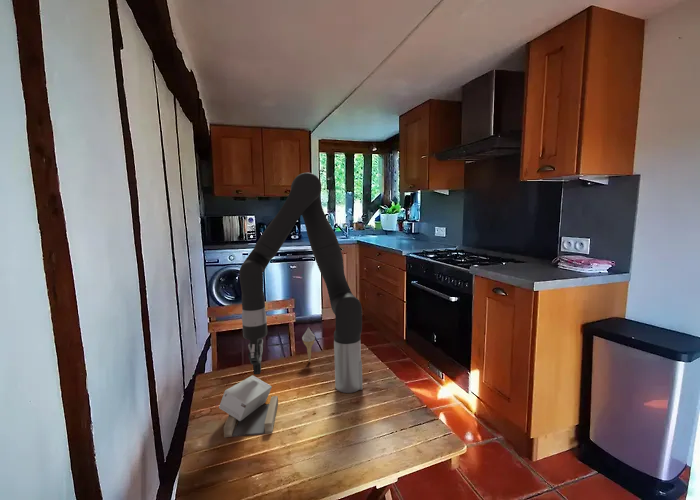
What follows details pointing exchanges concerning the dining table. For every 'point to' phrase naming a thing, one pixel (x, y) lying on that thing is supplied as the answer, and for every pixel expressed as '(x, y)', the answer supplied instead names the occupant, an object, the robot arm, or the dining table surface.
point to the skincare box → (245, 397)
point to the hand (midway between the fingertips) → (257, 373)
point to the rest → (253, 421)
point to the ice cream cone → (308, 341)
